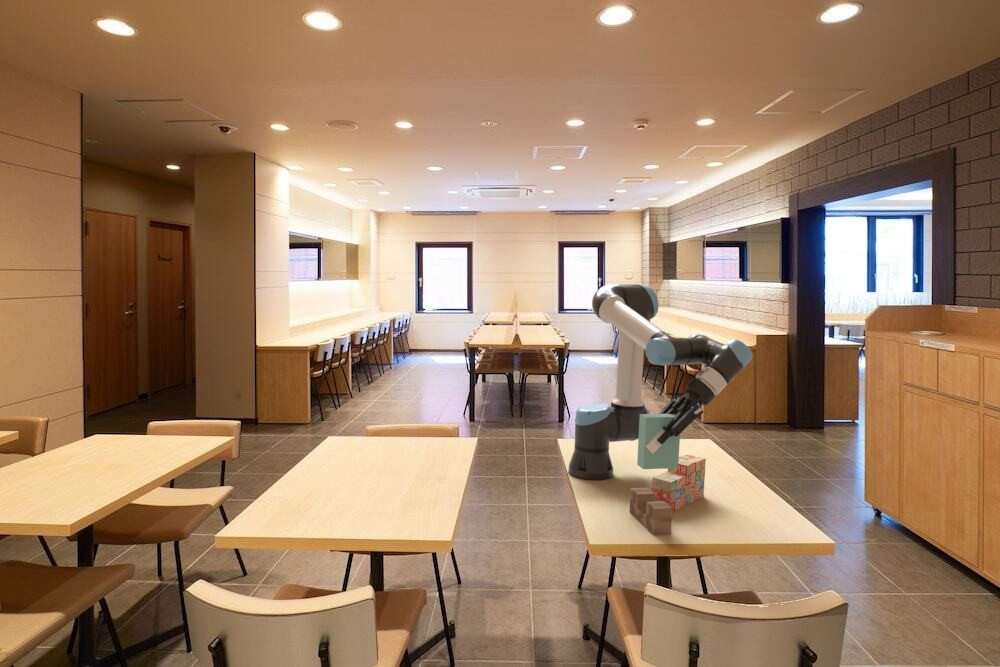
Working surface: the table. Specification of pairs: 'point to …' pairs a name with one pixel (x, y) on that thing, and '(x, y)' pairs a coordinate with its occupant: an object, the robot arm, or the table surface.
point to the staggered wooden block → (650, 511)
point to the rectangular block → (666, 452)
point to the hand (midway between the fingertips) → (645, 447)
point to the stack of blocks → (681, 482)
